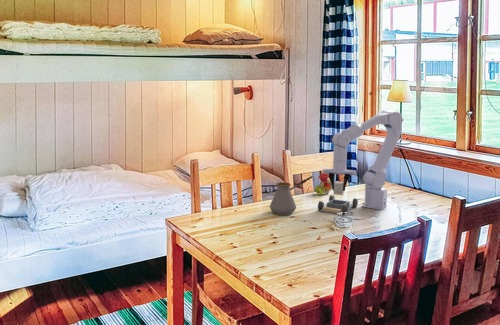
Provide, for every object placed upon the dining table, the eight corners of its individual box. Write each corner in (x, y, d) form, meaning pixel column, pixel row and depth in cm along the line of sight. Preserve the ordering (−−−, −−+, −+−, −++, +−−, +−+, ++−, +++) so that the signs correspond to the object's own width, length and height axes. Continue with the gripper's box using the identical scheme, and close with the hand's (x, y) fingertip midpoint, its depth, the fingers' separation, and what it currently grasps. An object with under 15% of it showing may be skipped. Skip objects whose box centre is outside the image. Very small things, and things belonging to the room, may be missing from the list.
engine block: (343, 192, 227) (344, 182, 226) (342, 194, 223) (343, 183, 222) (334, 192, 228) (335, 181, 227) (333, 194, 224) (334, 183, 223)
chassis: (332, 202, 237) (332, 194, 236) (358, 206, 231) (358, 197, 230) (317, 211, 222) (317, 202, 221) (344, 215, 216) (344, 206, 215)
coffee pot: (278, 218, 212) (278, 183, 209) (264, 211, 222) (265, 177, 219) (320, 211, 221) (321, 178, 219) (305, 205, 231) (306, 173, 229)
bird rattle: (323, 196, 257) (309, 190, 253) (331, 175, 257) (318, 170, 253) (330, 199, 252) (316, 193, 247) (338, 178, 252) (325, 172, 247)
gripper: (357, 159, 224) (356, 189, 227) (324, 157, 228) (323, 187, 230) (356, 162, 218) (354, 193, 220) (322, 160, 221) (321, 190, 224)
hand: (338, 190), depth 225 cm, fingers closed on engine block, 4 cm apart
